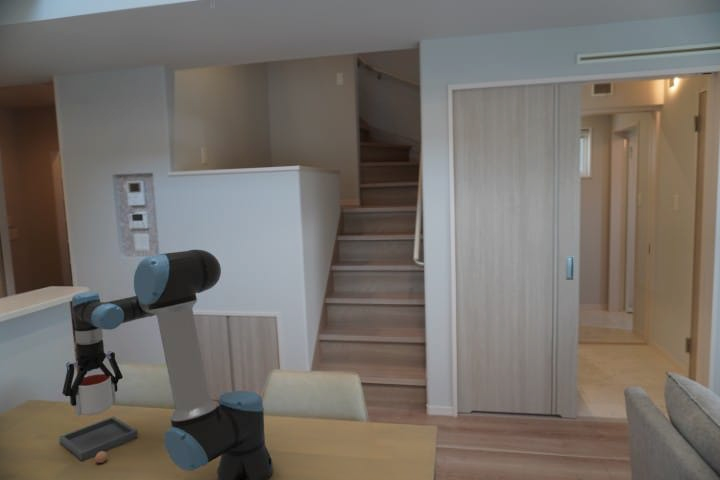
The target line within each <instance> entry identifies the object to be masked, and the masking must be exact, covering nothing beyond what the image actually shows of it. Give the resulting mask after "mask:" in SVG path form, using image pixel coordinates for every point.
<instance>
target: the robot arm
mask: <svg viewBox="0 0 720 480" xmlns="http://www.w3.org/2000/svg"><path fill="white" fill-rule="evenodd" d="M221 273H222V268H221V264H220V262H219V260H218V259H217V258H216V257H215V255H214V254H212V253H211V252H208V251H207V250H204V249H190V250H183V251H177V252H176V251H175V252H167V253H158V254H155V255H152V256H147V257H145V258H143V259H141V260H140V261H139V262H138V264H137V267H136V269H135V271H134V275H133V290H134V293H135V295H134V296H129V297H124V298H120V299H115V300H110V301H105V302H102V301H101V299H100V294H99V292H97V291H85V292H80V293H76V294H74V295H72V298H71V299H72V302H71V303H72V304H71V305H72V306H71V309H72V315H73V323H74V335H75V337H74V338H75V343H76V345H75V346H76V347H75V348H76V357H77V358H76V360H75V361H73V362H69V361H68V362H67V363H66V365H65V366H66V374H65V375H66V376H65V379H64V384H63V387H62V391H61V392H62V395H63V396H65V397H69V401H70V405H71V406H72V407H73V408H74V414H75V415H76V416H77V417H80V416H82V414H81V410H80V400H79V395H78V394H77V392H78V389H79V386H80V385H81V383H82V381H83V379H84V377H86V375H87V373H88V372H90V371H93V370H98V369H100V370H101V372H102V374H105V375H106V376H107V377H109V376H111V386H112V398H113V404H116V403H117V401H116V392H118V390H119V389H118V383H119V380H122V379H123V374H122V372H121V370H120V367H119V365H118V362H117V360H116V353H115V352H114V351H111V350H109V351H108V352H105V346H104V345H105V344H104V340H103V338H104V335H103V334H104V333H103V330H108V331H109V330H111V331H112V330H115V329H117V328H119V326H120V325H122V324H125V323H129V322H132V321H136V320H141V319H144V318H145V319H146V318H150V317H154V316H155V317H156V318H157V323H158V330H159V333H160V338H161V343H162V349H163V352H164V353H163V354H164V358H165V359H164V360H165V364H166V365H165V366H166V369H167V375H168V380H169V384H170V389H171V390H170V391H171V394H172V395H171V396H172V400H173V404H174V405H173V406H174V411H173V412H172V414H171V416H170V423H171V427H169V428H168V429H167V430H166V431H165V432H164V437H163V438H164V439H163V440H164V446H165V450H166V453H167V454H168V457H169V458H170V460H171V461H172V462H173V463H174V465H176V466H177V467H178V468H180V469H181V470H183V471H186V472H192V471H193V472H194V471H196V470H197V469H199V468H201V467H204V466H206V465H208V464H209V463H211V462H212V461H214V460H215V459H217V458H218V457H220V460H219V463H218V467H217V471H216V474H217V475H216V476H217V478H216V479H217V480H268V479H269V478H270V477H271V476H272V474H273V469H274V468H273V459H272V458H271V454H270V452H269V450H268V448H267V446H266V441H265V439H266V438H265V418H264V417H265V415H264V410H265V409H264V405H263V398H262V397H261V395H260V394H258V393H256V392H254V391H250V390H249V391H248V390H234V391H233V390H232V391H228V392H226V393H223V394H222V395H220V397H219V400H218V401H217V402H216V401H215V400H212V399H211V396H210V391H209V385H208V381H207V377H206V376H207V375H206V372H205V371H206V370H205V367H204V362H203V355H202V351H201V346H200V341H199V336H198V331H197V330H198V329H197V325H196V321H195V316H194V309H193V308H194V307H195V304H197V302H198V298H197V294H201V293H203V292H205V291H208V290H211V289H212V288H213V287H214V286H215V285H217V283H218V282H219V280H220V278H221ZM105 359H107V360H108V362H109V364H110V367H111V369H112V371H113V372H111V371H110V369H108V367H107V366H106V364H105V363H104V361H105ZM77 366H79V368H78V371H77V374H76V377H75V378H74V375H75V370H76V368H77ZM113 373H114V374H113Z"/></svg>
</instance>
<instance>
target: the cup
mask: <svg viewBox="0 0 720 480" xmlns="http://www.w3.org/2000/svg"><path fill="white" fill-rule="evenodd" d="M77 394H78V395H79V400H80V410H81V416H94V415H98V414H99V415H100V414H102V413H104V412H106V411H108V410H109V409H111V407H112V406H113V404H114V403H113V398H112V386H111V376H109V377H107V376H106V375H105V374H104V373H98V374H90V375H87V376H84V379H83V381H82V383H81V385H80V386H79V389H78V392H77Z"/></svg>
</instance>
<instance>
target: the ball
mask: <svg viewBox="0 0 720 480" xmlns="http://www.w3.org/2000/svg"><path fill="white" fill-rule="evenodd" d="M94 457H95V458H94V459H95V461H96V463H98V464H101V463H102V464H103V463H104V462H106V461H107V459H108V453H107V451H105V452H104V451H101V452H99V453H97V455H95V456H94Z"/></svg>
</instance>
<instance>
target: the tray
mask: <svg viewBox="0 0 720 480" xmlns="http://www.w3.org/2000/svg"><path fill="white" fill-rule="evenodd" d="M58 438H59V444H60V445H61V446H62V447H63V448H65V449H66V450H67V451H69V453H71V454H72V455H73V456H75V457H76V458H77V459H78V460H80V462H83V461H86V460H88V459H90V458H92V457H96V455H97V453H99V452H101V451H104V452H107V451H110V450H112V449H114V448H116V447H119V446H122V445H124V444H126V443H128V442H130V441H133V440H135V439H138V430H136V429H135V428H134V427H132V426H130V425H129V424H127V423H125V422H123V421H122V420H120V419H119V418H117V417H115V416H110V417H108V418H105V419H103V420H100V421H97V422H95V423H92V424H89V425H87V426H85V427H81V428H78V429H76V430H73V431H71V432H68V433H66V434H63V435H60V436H59V437H58Z"/></svg>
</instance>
